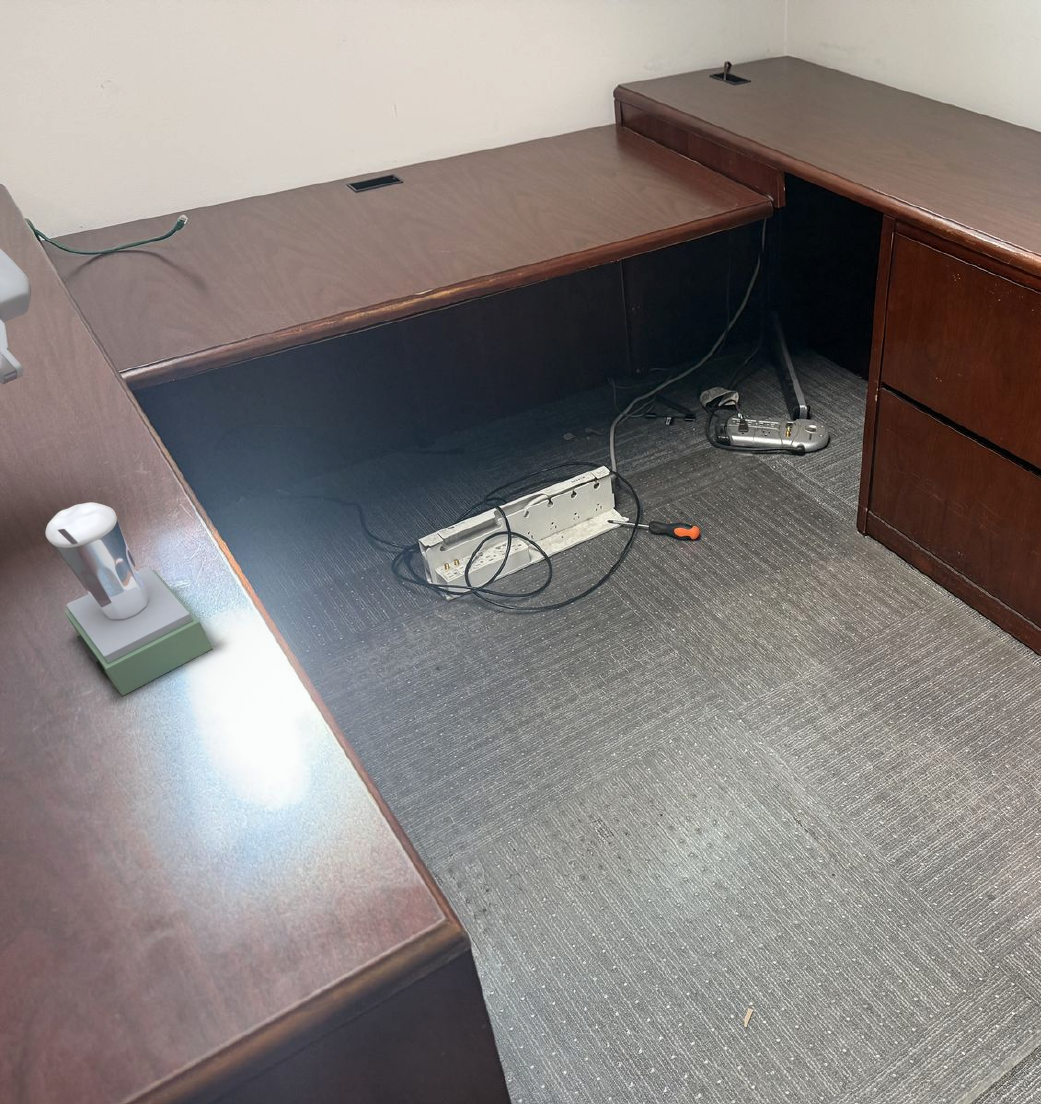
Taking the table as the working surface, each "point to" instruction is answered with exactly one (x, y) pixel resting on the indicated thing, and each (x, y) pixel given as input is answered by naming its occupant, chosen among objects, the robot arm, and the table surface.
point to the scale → (140, 635)
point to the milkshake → (99, 558)
